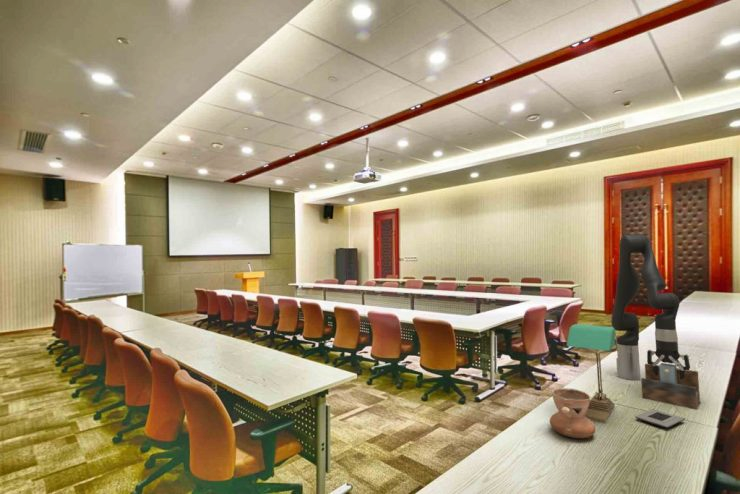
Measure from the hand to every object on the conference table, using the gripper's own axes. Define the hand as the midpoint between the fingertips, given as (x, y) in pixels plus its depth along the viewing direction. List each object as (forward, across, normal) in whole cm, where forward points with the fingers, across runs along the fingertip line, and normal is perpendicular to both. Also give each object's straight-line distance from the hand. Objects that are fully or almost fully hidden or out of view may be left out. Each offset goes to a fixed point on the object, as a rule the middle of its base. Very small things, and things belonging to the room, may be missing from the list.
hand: (668, 376), depth 157 cm
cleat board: (+10, 0, 0) cm, 10 cm away
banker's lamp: (+10, -18, -35) cm, 40 cm away
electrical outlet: (+11, +1, -28) cm, 30 cm away
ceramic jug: (+10, -19, -59) cm, 63 cm away
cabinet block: (+5, 0, 0) cm, 5 cm away
